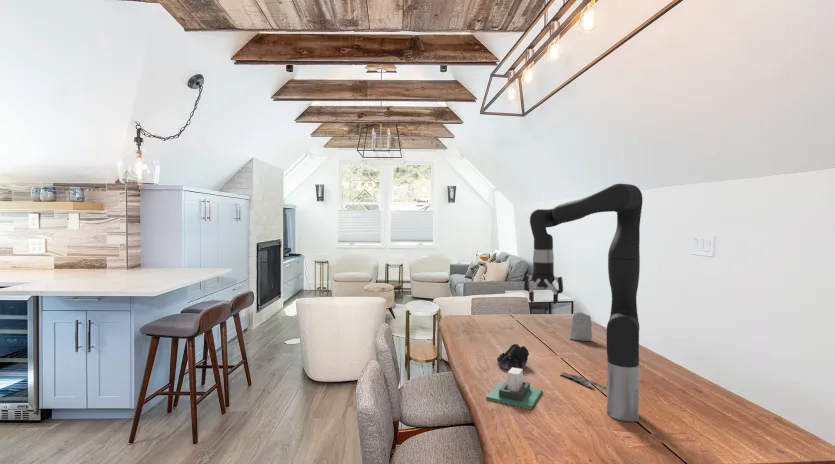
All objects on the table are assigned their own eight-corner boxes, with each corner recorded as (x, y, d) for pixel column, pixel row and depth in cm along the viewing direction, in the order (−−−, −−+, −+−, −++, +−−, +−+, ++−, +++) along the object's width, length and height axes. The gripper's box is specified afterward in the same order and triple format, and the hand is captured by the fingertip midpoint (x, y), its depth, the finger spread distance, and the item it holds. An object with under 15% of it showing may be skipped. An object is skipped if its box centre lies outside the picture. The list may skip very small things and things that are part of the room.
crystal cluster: (492, 369, 178) (493, 347, 176) (500, 357, 190) (501, 337, 188) (523, 376, 172) (525, 354, 171) (529, 364, 184) (531, 342, 183)
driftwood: (557, 375, 169) (557, 370, 169) (569, 373, 172) (569, 368, 172) (599, 396, 150) (599, 390, 150) (613, 392, 153) (613, 386, 153)
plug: (522, 390, 151) (522, 369, 151) (517, 397, 145) (517, 375, 145) (512, 388, 153) (512, 367, 153) (506, 395, 147) (506, 373, 146)
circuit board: (542, 392, 152) (542, 382, 152) (531, 409, 138) (531, 399, 138) (500, 383, 160) (500, 375, 160) (486, 399, 146) (486, 389, 146)
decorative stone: (592, 340, 219) (592, 312, 219) (590, 342, 214) (590, 314, 214) (571, 337, 225) (571, 309, 224) (568, 339, 220) (569, 311, 219)
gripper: (564, 260, 158) (564, 302, 158) (527, 259, 165) (527, 299, 165) (560, 262, 151) (560, 306, 152) (522, 261, 158) (522, 302, 159)
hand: (543, 302), depth 158 cm, fingers open, 8 cm apart
